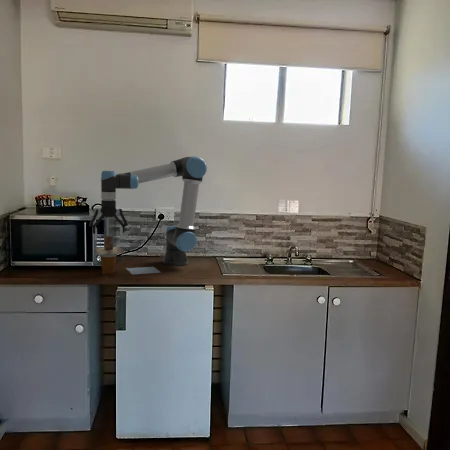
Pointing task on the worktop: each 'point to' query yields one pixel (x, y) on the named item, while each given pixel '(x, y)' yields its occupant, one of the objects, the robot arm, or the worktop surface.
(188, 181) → the robot arm
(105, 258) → the disposable coffee cup
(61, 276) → the worktop surface
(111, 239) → the lid
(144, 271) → the mat
